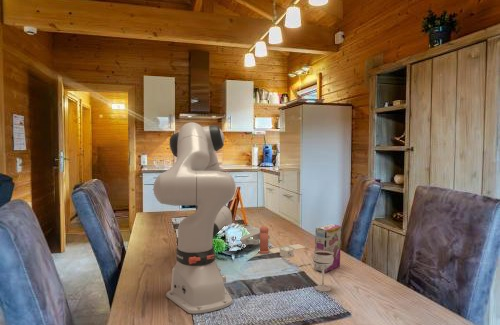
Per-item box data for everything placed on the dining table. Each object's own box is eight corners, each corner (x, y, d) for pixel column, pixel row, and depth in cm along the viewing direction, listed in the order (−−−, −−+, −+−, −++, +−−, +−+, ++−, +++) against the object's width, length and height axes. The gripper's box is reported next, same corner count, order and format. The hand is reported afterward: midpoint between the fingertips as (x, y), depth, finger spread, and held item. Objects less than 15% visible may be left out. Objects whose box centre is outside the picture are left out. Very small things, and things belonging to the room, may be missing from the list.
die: (293, 258, 141) (293, 249, 141) (287, 260, 138) (287, 251, 138) (285, 256, 144) (286, 246, 144) (279, 258, 141) (279, 248, 141)
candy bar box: (325, 274, 124) (326, 230, 123) (313, 270, 127) (314, 227, 126) (341, 266, 131) (341, 225, 131) (330, 263, 135) (330, 223, 134)
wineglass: (334, 293, 107) (334, 256, 107) (312, 291, 108) (313, 255, 108) (332, 284, 114) (333, 250, 113) (312, 283, 115) (313, 248, 115)
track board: (309, 250, 152) (309, 248, 151) (251, 261, 137) (251, 258, 137) (295, 244, 160) (295, 242, 160) (240, 254, 146) (240, 252, 146)
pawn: (271, 252, 145) (271, 226, 144) (262, 254, 142) (262, 227, 142) (265, 249, 149) (265, 224, 148) (256, 251, 147) (256, 225, 146)
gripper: (224, 233, 144) (251, 237, 136) (249, 224, 161) (274, 228, 154) (223, 247, 144) (250, 253, 137) (249, 237, 161) (274, 241, 154)
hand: (263, 239), depth 145 cm, fingers open, 8 cm apart
